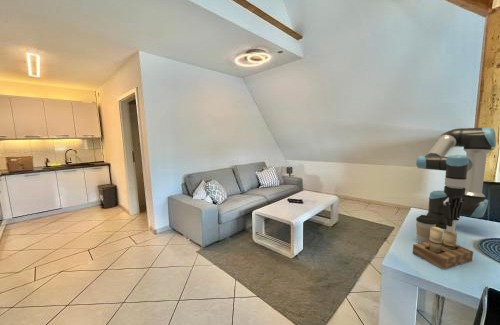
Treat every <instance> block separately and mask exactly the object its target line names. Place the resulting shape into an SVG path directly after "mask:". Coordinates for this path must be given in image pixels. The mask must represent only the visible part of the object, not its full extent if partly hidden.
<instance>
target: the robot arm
mask: <svg viewBox="0 0 500 325" xmlns="http://www.w3.org/2000/svg"><path fill="white" fill-rule="evenodd" d="M455 147H456V148H458V147H459V148H463V151H464V152H465V153H466V154H465V155H464V154H449V155H448V156H446V155H447V154H448V152H449V151H450V149H452V148H455ZM496 147H497V137H496V131H495V129H494V128H493V127H468V128H467V127H466V128H465V127H464V128H463V127H462V128H460V127H459V128H455V129H451V130H448V131H446V132H443V133H441V134H440V135H439V136H438V137H437V139H436V141H435V144H434V145H433V146H432V147H431V149H429V151H428V153H426V154H423V155H419V156H417V158H416V161H415V165H416V167H417V168H418V169H421V170H422V169H423V170H431V171H432V170H433V171H434V170H435V171H445V178H444V187H443V190H432V191H431V192H430V193H429V197H428V209H427V210H428V211H427V213H426V214H425V215H426V216H429V217H432V218H434V220H436V223H437V224H436V226H435V227H438V228H441V229H443V230H446V231H448V232H450V233H455V232H456V223H457V221H459V220H460V218H461V216H462V215H463V216H468V217H471V218H472V217H473V218H482V217H484V215H485V213H486V211H487V208H488V204H489V199H486V195H485V194H484V193H483V186H484V179H485V172H486V164H487V157H488V156H487V155H488V153H490V152H491V151H492V149H493V148H496Z"/></svg>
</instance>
